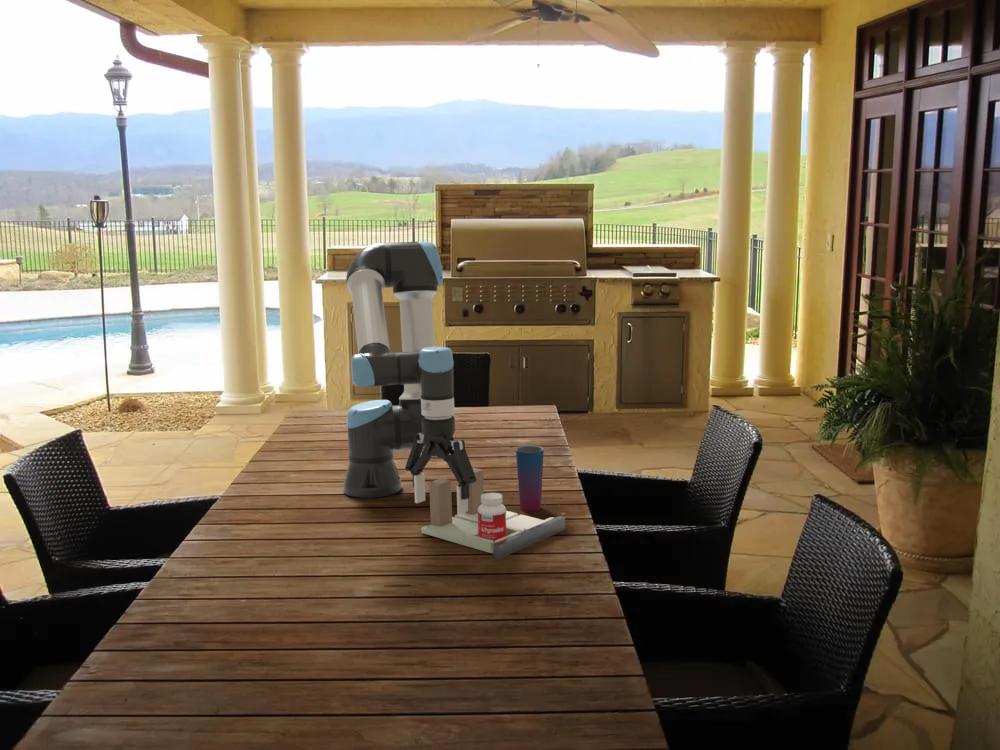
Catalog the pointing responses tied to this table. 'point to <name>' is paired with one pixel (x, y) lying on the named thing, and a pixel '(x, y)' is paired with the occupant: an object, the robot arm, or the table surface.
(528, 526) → the white strip
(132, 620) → the table surface
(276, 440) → the table surface
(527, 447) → the cup
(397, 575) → the table surface
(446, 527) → the pale green stand
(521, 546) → the end bar
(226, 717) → the table surface
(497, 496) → the pill bottle
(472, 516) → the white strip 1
